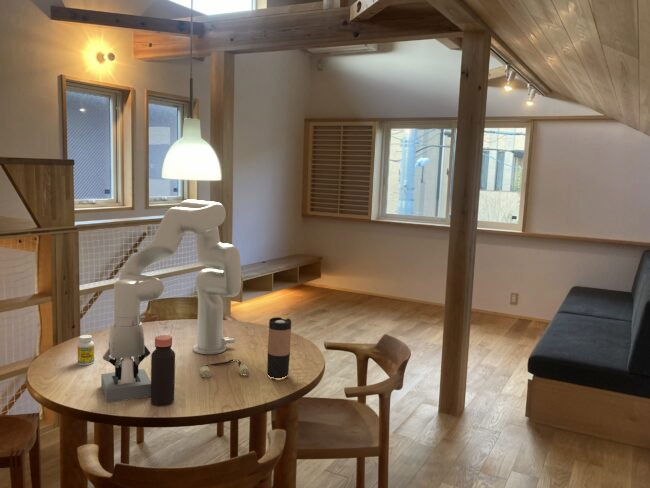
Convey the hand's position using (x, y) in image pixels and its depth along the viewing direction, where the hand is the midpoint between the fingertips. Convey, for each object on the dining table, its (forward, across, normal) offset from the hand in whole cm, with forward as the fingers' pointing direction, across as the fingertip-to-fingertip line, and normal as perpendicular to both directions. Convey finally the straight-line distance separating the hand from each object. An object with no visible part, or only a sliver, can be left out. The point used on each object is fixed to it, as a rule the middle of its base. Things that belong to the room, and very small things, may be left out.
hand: (126, 376), depth 171 cm
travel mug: (+5, -49, +5) cm, 49 cm away
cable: (+5, -33, -7) cm, 34 cm away
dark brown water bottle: (+5, -8, +12) cm, 15 cm away
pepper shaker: (+3, 0, 0) cm, 3 cm away
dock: (+5, 0, 0) cm, 5 cm away
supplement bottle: (+5, +9, -29) cm, 31 cm away
